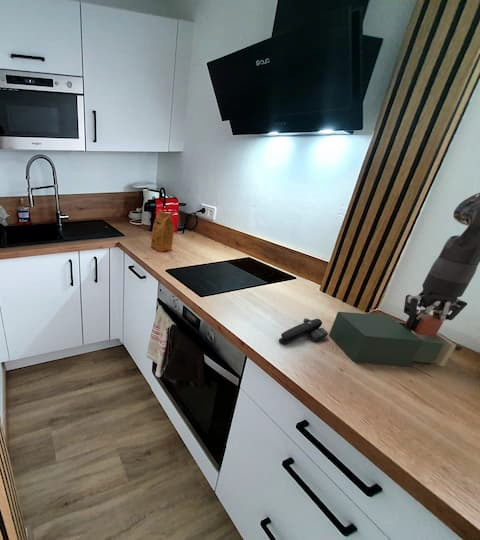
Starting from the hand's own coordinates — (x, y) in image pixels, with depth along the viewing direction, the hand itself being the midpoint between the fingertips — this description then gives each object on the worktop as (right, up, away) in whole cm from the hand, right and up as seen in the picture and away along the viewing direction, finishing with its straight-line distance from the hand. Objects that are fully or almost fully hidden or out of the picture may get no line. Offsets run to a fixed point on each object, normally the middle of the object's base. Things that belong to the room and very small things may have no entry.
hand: (420, 329), depth 81 cm
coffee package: (-62, +29, +85) cm, 110 cm away
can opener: (-29, -5, +9) cm, 31 cm away
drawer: (0, -7, +3) cm, 8 cm away
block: (0, 0, 0) cm, 0 cm away
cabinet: (-12, -7, +5) cm, 14 cm away
